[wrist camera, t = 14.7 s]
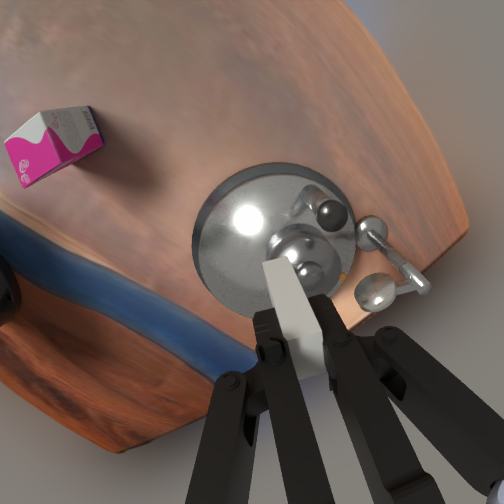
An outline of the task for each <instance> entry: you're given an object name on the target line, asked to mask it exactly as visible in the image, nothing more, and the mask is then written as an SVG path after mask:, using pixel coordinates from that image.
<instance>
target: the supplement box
mask: <svg viewBox="0 0 504 504" xmlns="http://www.w3.org/2000/svg"><path fill="white" fill-rule="evenodd" d="M4 144H5V146H6V149H7V151H8V154H9V156H10V159H11V161H12V163H13V166H14V168H15V170H16V173H17V175H18V177H19V179H20V182H21V184H22V186H23V188H24V189H25V188H27V187H29V186H31V185H32V184H34V183H36V182H38V181H40V180H42V179H43V178H45V177H47V176H49V175H51V174H53V173H55V172H57V171H59V170H61V169H63V168H65V167H67V166H69V165H71V164H72V163H74V162H76V161H78V160H79V159H81V158H83V157H84V156H86V155H88V154H90V153H91V152H93V151H95V150H96V149H98V148H100V147H102V146H103V145H104V141H103V138H102V136H101V133H100V131H99V129H98V126H97V124H96V122H95V119H94V117H93V114H92V112H91V110H90V107H89V106H79V107H69V108H61V109H53V110H45V111H40V112H38V113H37V114H36V115H35V116H33V117H32V118H31V119H30V120H28V121H27V122H26V123H25V124H24V125H22V126H21V127H20V128H19V129H18V130H17V131H16V132H14V133H13V134H12V135H11V136H10V137H9V138H7V139H6V140H5V141H4Z"/></svg>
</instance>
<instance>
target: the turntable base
mask: <svg viewBox="0 0 504 504" xmlns="http://www.w3.org/2000/svg"><path fill="white" fill-rule="evenodd" d="M279 172H282V173H293V174H298V175H302V176H305V177H308V178H311V179H313V180H315V181H317V182H318V183H320V184H322V185H323V186H324V187H326V188H327V189H329V190H330V191H331V192H332V193H333V194H334V195H335V196H336V197H337V198H338V199H339V200H340V201H341V202H342V203H343V205H344V206H345V207H346V209H347V211H348V212H349V214H350V216H351V219H352V222H353V225H354V229H355V234H356V226H355V220H354V216H353V212H352V210H351V207H350V205H349V203H348V201H347V200H346V198H345V196H344V195H343V194H342V192H341V191H340V190H339V189H338V187H337V186H335V185H334V184H333V183H332V182H331V181H330V180H329V179H327V178H326V177H324V176H323V175H321V174H320V173H318V172H316V171H314V170H312V169H310V168H307V167H304V166H301V165H298V164H292V163H282V162H273V163H264V164H259V165H255V166H252V167H249V168H246V169H244V170H241V171H239V172H237V173H236V174H234V175H232V176H230V177H229V178H227V179H226V180H225V181H224V182H222V183H221V184H220V185H219V186H218V187H217V188H216V189H215V190H214V191H213V192H212V193H211V194H210V195H209V197H208V198H207V199H206V201H205V202H204V204H203V206H202V207H201V209H200V211H199V213H198V216H197V219H196V221H195V225H194V230H193V235H192V256H193V260H194V265H195V268H196V270H197V273H198V275H199V277H200V279H201V280H202V282H203V284H204V285H205V286H206V288H207V289H208V290H209V288H208V287H207V285H206V283H205V281H204V279H203V276H202V273H201V270H200V265H199V243H200V236H201V231H202V228H203V225H204V222H205V220H206V218H207V216H208V214H209V212H210V211H211V209H212V208H213V206H214V205H215V204H216V202H217V201H218V200H219V199H220V198H221V197H222V196H223V195H224V194H225V193H226V192H227V191H229V190H230V189H231V188H233V187H234V186H236V185H237V184H239V183H241V182H243V181H245V180H247V179H250V178H252V177H255V176H258V175H263V174H268V173H279ZM209 291H210V290H209ZM210 292H211V291H210Z"/></svg>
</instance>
